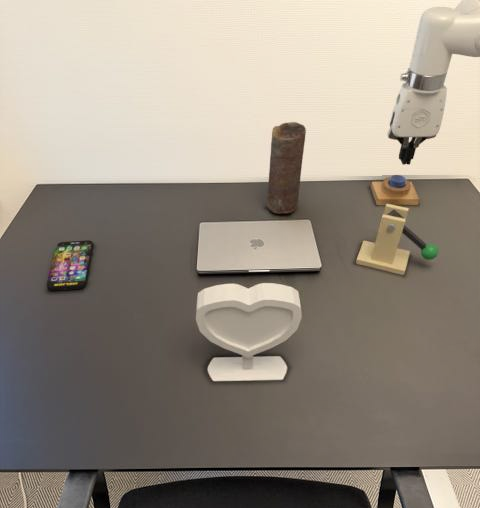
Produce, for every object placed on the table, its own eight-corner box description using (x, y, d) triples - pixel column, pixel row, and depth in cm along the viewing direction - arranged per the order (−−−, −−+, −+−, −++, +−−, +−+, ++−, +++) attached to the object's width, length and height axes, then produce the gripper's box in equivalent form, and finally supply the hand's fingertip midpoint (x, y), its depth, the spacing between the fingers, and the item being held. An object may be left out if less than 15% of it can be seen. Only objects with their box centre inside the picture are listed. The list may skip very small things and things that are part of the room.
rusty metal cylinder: (302, 214, 112) (311, 132, 97) (274, 220, 110) (279, 138, 95) (289, 198, 116) (296, 117, 102) (261, 203, 115) (265, 122, 100)
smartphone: (93, 239, 103) (85, 285, 93) (94, 243, 104) (86, 289, 94) (57, 242, 103) (44, 288, 92) (58, 245, 103) (46, 291, 93)
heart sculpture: (201, 381, 78) (193, 304, 65) (202, 357, 82) (195, 280, 69) (294, 379, 78) (305, 302, 65) (291, 356, 82) (300, 278, 69)
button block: (409, 187, 120) (413, 175, 117) (417, 205, 114) (421, 192, 112) (370, 187, 120) (373, 175, 117) (376, 205, 114) (379, 192, 112)
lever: (429, 256, 97) (442, 247, 95) (427, 265, 95) (440, 257, 93) (383, 216, 95) (395, 206, 92) (381, 224, 93) (393, 215, 90)
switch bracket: (408, 255, 101) (424, 208, 92) (403, 275, 97) (419, 227, 88) (362, 244, 104) (373, 198, 95) (355, 263, 99) (366, 216, 91)
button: (402, 181, 116) (403, 174, 115) (405, 189, 114) (407, 182, 112) (387, 181, 116) (389, 174, 115) (390, 188, 114) (392, 182, 112)
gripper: (393, 86, 95) (376, 170, 108) (467, 85, 94) (441, 169, 108) (385, 73, 100) (369, 154, 113) (456, 72, 100) (432, 153, 113)
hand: (404, 161), depth 110 cm, fingers closed
